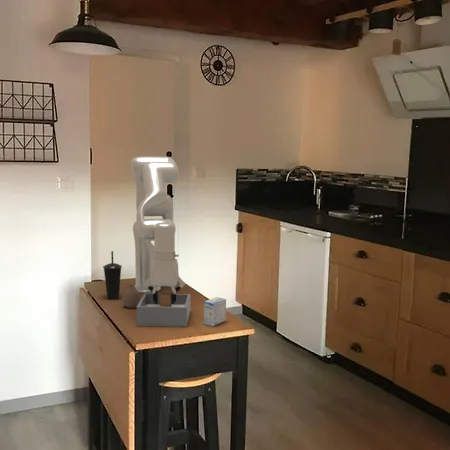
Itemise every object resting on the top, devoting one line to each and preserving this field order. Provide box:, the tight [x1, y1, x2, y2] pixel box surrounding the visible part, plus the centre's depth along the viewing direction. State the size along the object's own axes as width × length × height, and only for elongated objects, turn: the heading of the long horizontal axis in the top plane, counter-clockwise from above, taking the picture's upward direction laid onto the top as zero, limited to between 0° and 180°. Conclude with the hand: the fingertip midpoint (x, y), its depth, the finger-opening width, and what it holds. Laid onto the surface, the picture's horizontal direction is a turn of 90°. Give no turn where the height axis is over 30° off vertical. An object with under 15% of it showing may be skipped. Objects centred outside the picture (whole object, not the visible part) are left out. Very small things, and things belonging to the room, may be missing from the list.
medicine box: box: [203, 296, 227, 327], centre depth 207 cm, size 8×4×9 cm, turn 145°
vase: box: [122, 284, 141, 309], centre depth 225 cm, size 7×7×9 cm
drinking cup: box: [102, 251, 123, 300], centre depth 237 cm, size 8×8×20 cm
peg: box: [159, 290, 173, 307], centre depth 211 cm, size 4×4×10 cm
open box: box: [136, 292, 192, 328], centre depth 212 cm, size 18×18×7 cm
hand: (164, 302), depth 211 cm, fingers open, 5 cm apart
